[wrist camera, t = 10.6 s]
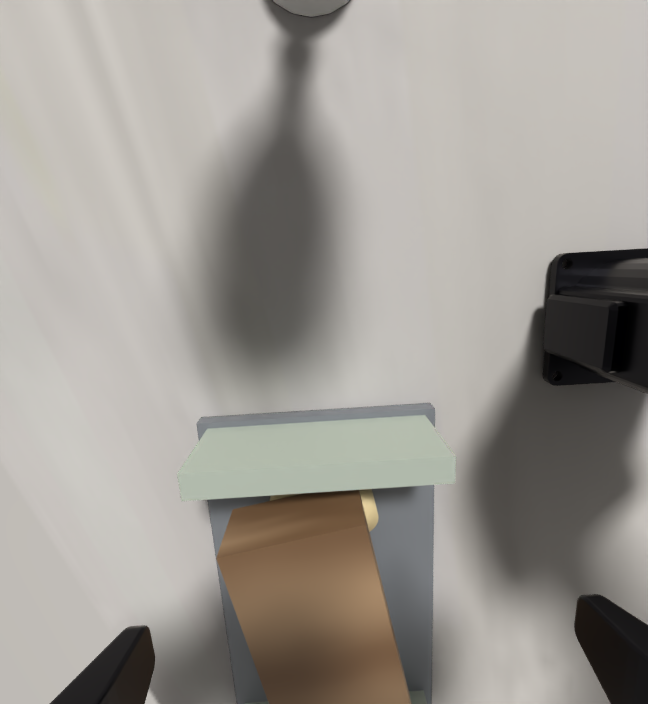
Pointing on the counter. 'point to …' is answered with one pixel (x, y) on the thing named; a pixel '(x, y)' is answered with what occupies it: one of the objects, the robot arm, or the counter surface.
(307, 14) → the chalice
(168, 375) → the counter surface
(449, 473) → the peg cradle
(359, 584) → the shelf board
